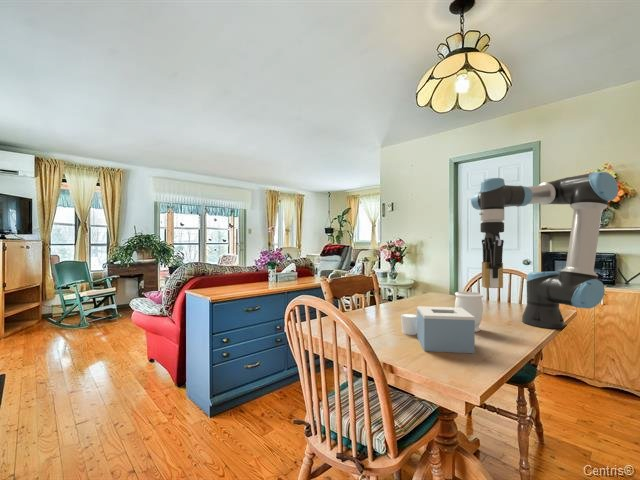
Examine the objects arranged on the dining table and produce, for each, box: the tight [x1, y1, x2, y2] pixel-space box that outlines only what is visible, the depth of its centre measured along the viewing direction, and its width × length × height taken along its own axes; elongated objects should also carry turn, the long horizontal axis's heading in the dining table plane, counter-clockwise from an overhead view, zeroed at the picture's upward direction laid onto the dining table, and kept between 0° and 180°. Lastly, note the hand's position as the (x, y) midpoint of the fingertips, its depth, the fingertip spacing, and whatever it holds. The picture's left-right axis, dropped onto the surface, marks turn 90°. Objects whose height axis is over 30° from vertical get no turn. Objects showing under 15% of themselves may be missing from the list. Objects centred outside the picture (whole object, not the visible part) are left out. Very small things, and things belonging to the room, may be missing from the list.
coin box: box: [416, 305, 476, 354], centre depth 110 cm, size 16×14×12 cm
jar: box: [454, 291, 484, 333], centre depth 129 cm, size 11×10×15 cm
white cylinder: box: [400, 313, 417, 336], centre depth 124 cm, size 7×7×7 cm
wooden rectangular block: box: [481, 261, 504, 289], centre depth 112 cm, size 6×3×9 cm, turn 82°
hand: (491, 286), depth 112 cm, fingers closed on wooden rectangular block, 3 cm apart
